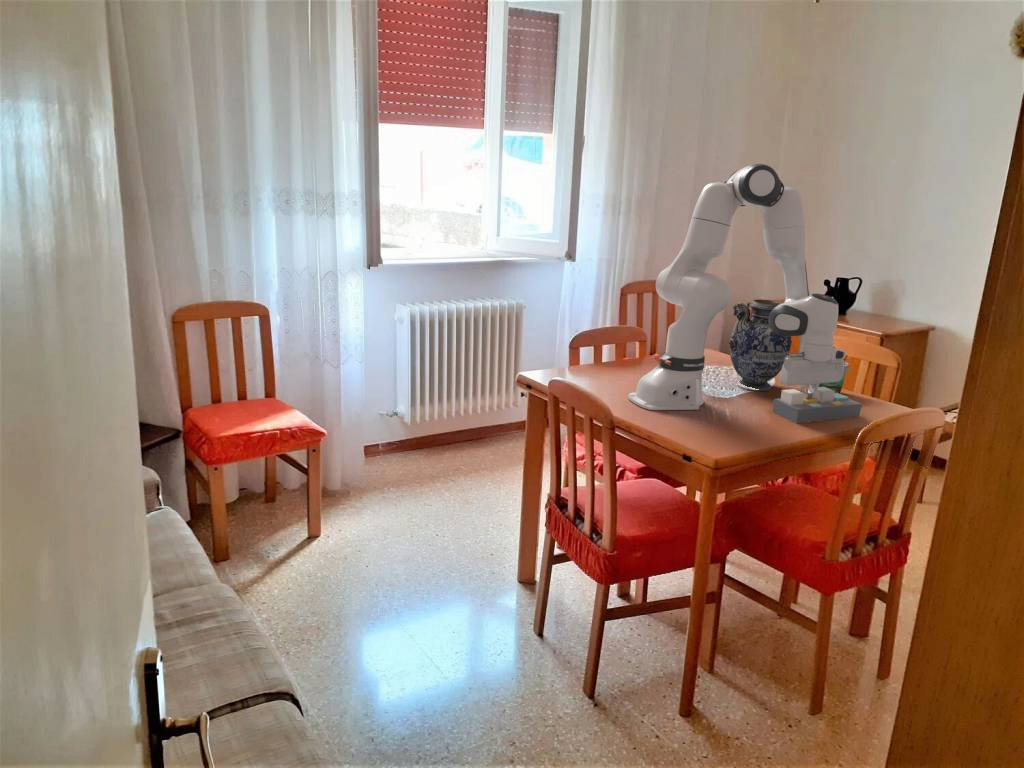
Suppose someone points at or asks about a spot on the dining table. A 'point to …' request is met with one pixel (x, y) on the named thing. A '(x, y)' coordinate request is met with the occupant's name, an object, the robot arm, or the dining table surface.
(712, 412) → the dining table surface
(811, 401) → the ochre key
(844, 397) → the teal key
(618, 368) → the dining table surface
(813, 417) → the keypad
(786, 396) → the cream key
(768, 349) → the decorative vase
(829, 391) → the grey key
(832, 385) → the food container
